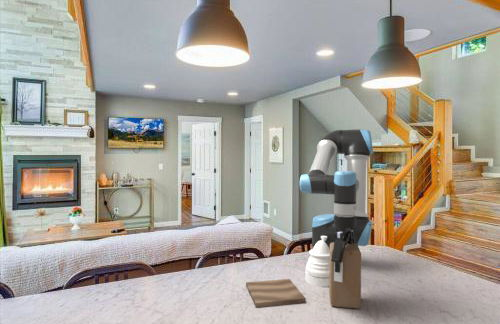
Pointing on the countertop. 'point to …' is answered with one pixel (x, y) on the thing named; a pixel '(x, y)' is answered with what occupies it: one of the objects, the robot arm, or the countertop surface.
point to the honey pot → (319, 264)
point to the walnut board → (274, 293)
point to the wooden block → (346, 279)
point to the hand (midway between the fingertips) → (344, 275)
